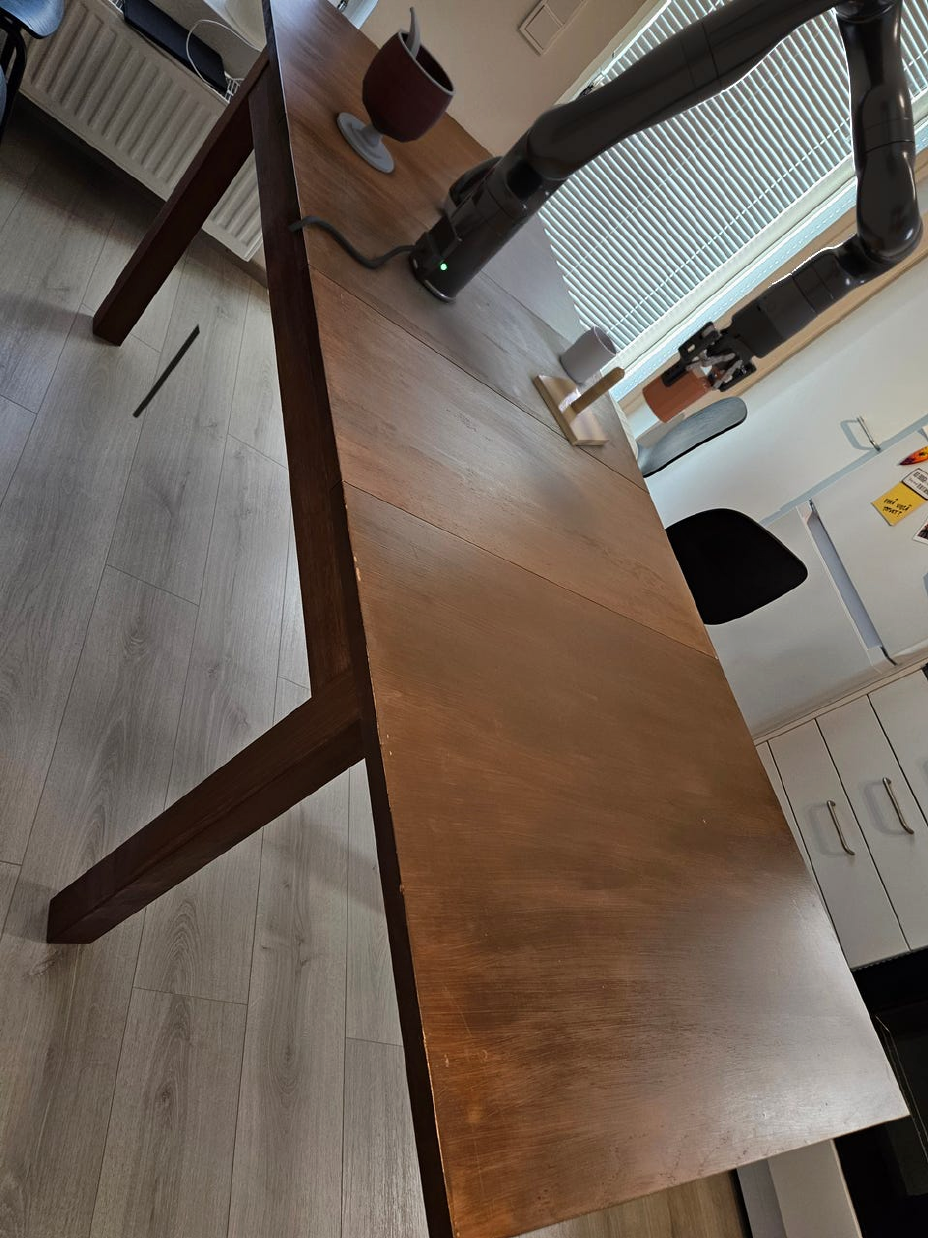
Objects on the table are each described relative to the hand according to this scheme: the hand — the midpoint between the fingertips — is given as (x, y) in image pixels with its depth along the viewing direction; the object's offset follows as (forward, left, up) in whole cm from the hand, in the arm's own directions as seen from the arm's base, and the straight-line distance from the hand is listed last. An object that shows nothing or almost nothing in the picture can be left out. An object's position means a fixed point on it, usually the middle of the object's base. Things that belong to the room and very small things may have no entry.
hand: (675, 390), depth 121 cm
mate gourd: (-25, +67, -22) cm, 75 cm away
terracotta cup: (0, 0, -4) cm, 4 cm away
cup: (+21, +35, -22) cm, 47 cm away
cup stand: (+11, +18, -22) cm, 31 cm away
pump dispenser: (-3, +61, -22) cm, 65 cm away
